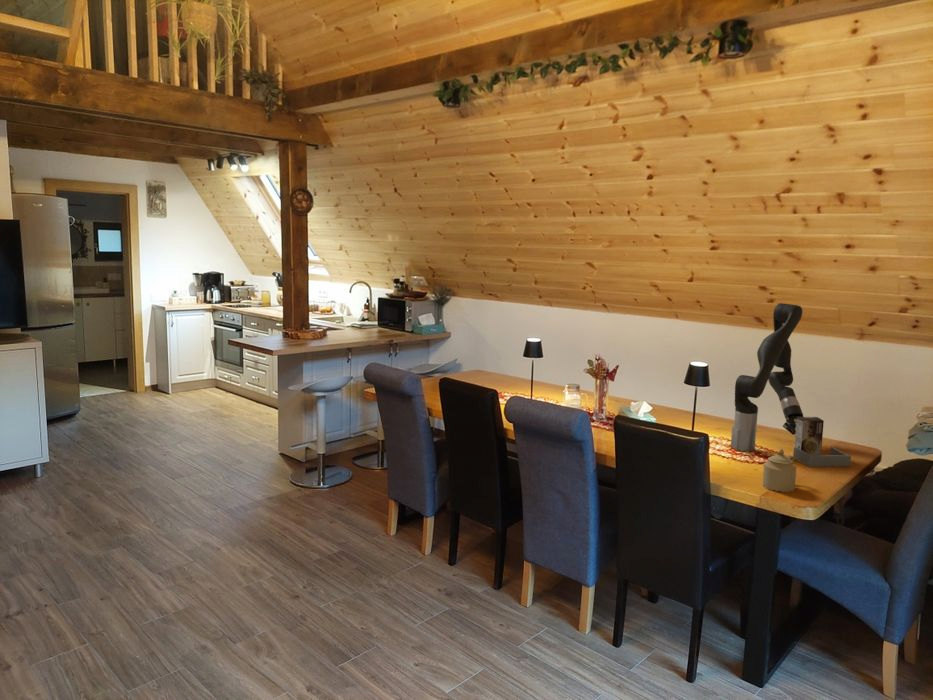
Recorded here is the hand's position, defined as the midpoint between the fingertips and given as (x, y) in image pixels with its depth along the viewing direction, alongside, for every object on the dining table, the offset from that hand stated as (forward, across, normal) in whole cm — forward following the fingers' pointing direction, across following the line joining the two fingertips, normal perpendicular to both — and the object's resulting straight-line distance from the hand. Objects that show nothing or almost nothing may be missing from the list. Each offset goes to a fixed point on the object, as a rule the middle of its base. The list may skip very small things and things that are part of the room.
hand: (803, 442), depth 294 cm
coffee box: (+6, 0, 0) cm, 6 cm away
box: (+13, 0, -7) cm, 15 cm away
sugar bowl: (+34, -33, -28) cm, 55 cm away
